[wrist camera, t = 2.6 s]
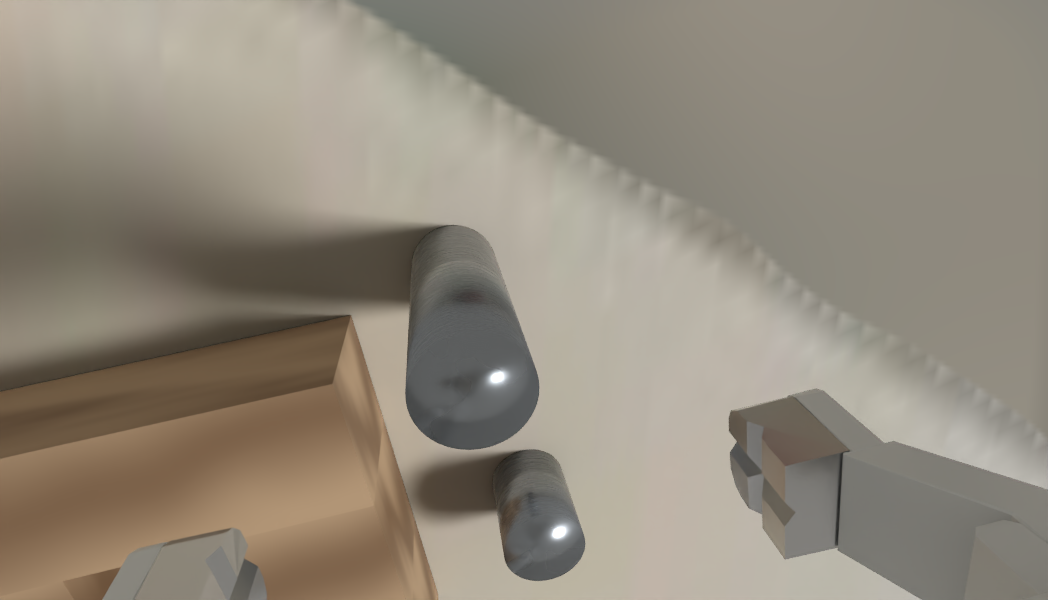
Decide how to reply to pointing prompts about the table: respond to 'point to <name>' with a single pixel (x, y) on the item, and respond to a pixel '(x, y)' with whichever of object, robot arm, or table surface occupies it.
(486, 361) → the tall pin
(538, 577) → the short pin
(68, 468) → the hole block
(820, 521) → the robot arm
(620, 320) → the table surface
